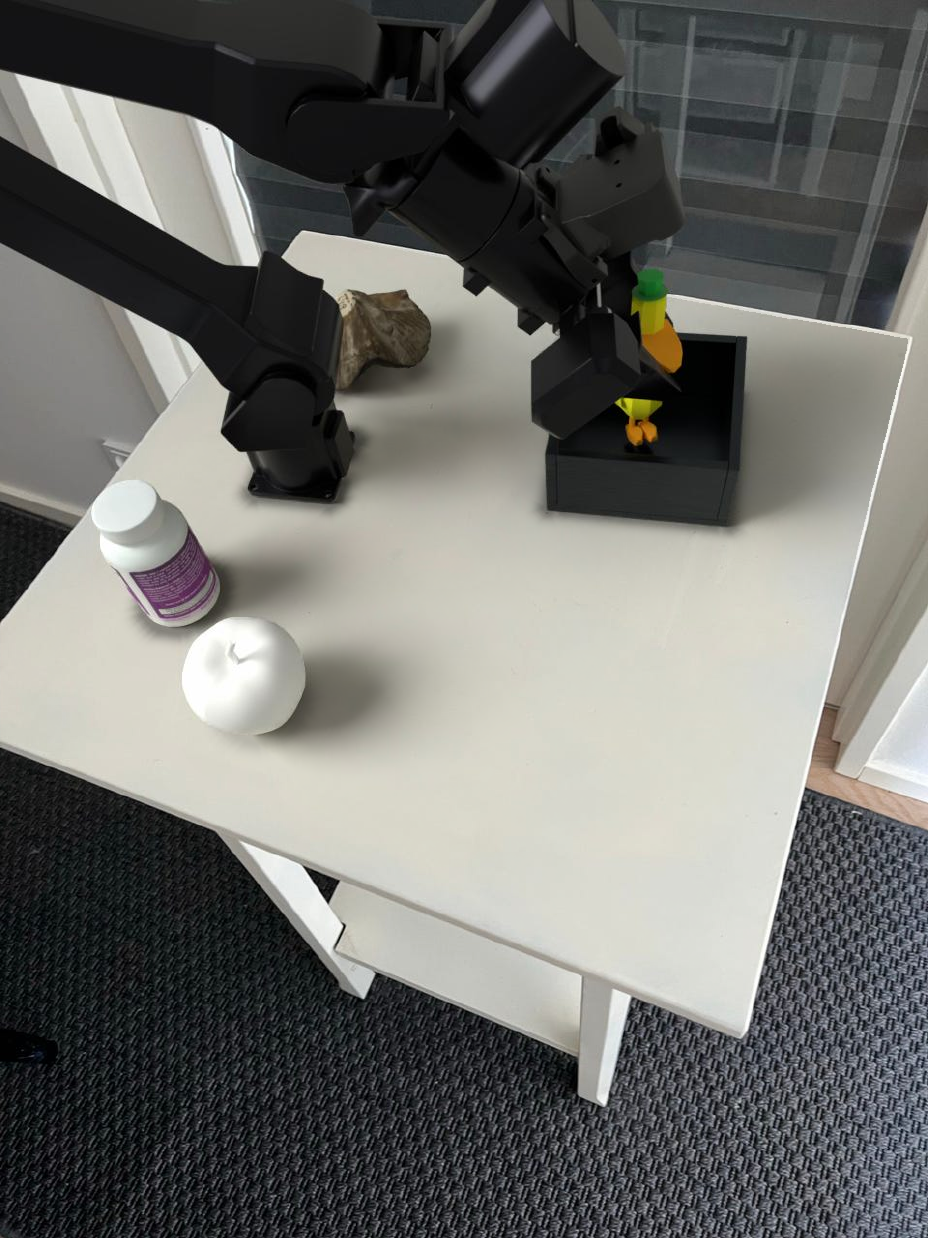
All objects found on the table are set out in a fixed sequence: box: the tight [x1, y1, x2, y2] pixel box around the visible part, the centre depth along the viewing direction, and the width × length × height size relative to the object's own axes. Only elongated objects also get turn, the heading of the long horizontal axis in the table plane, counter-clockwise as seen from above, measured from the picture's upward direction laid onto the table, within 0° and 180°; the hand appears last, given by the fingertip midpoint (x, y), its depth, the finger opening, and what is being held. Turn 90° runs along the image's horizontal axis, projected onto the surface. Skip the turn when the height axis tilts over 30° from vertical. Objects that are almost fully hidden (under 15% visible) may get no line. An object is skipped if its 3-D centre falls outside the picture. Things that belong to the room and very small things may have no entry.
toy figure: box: [615, 268, 683, 446], centre depth 59 cm, size 7×4×12 cm, turn 17°
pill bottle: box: [91, 478, 221, 628], centre depth 58 cm, size 5×5×10 cm
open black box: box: [544, 331, 748, 528], centre depth 63 cm, size 12×12×6 cm
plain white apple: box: [181, 616, 306, 736], centre depth 54 cm, size 7×7×8 cm
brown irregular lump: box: [335, 288, 432, 392], centre depth 70 cm, size 8×7×10 cm
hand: (671, 363), depth 58 cm, fingers closed on toy figure, 5 cm apart
